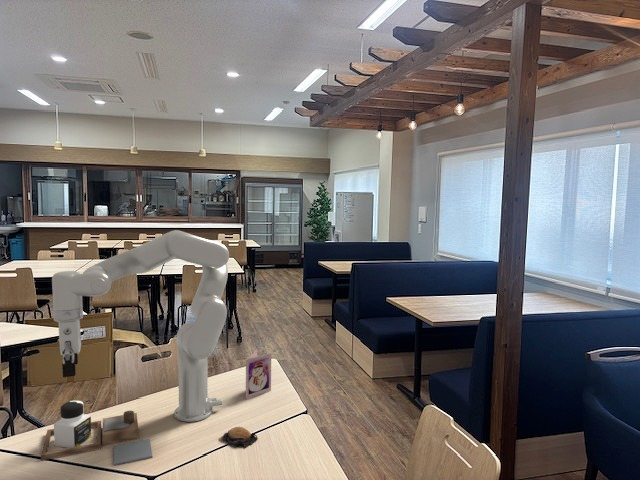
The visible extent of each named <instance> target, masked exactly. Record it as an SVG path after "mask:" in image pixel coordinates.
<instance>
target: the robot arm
mask: <svg viewBox="0 0 640 480" xmlns="http://www.w3.org/2000/svg"><path fill="white" fill-rule="evenodd" d="M175 259H177V260H181V261H184V262H188V263H191V264H194V265H199V266H201V268H202V273H201V277H200V281H199V285H198V287H197V290H196V292H195V295H194V297H193V299H192V302H191V305H190V312H191V314H192V316H193V317H194V318H195V321H188V322H186V323H184V324H182V325H181V326H180V327H179V329H178V330H177V333H176V340H175V341H176V349H177V361H178V364H177V365H178V370H177V371H178V407H176V408H175V409H174V411H173V412H174V413H173V416H174V418H176V420H178V421H181V422H185V423H188V422H189V423H190V422H191V423H193V422H197V421H198V422H199V421H201V420H205V419H207V418H208V417H210V416H211V415H212V413H213V407H214V406H215V407H217V406H222V405H223V402H222V399H221V398H220V399H217V397H212V398H210V397H209V396H208V395H209V393H208V390H209V389H208V387H209V386H208V385H209V384H208V383H209V382H208V369H209V368H208V362H209V361H208V357H210V356H211V355H212V353H214V350H215V349H216V347H217V344H218V342H219V339H220V336H221V333H222V332H223V329H224V325H225V324H226V321H227V320H226V319H227V317H228V316H227V315H228V309H227V305H226V304H225V302H224V301H223V300H222V297H223V294H224V291H225V288H226V285H227V281H228V276H229V275H228V273H229V272H228V265H227V264H228V262H229V260H230V252H229V248H227V247H226V245H225V244H223V243H221V242H219V241H215V240H212V239H206V238H205V237H200V236H198V235H193V234H192V233H188V232H187V231H186V232H185V231H182V230H178V229H175V230H170V231H168V232H166V233H164V234H161V235H159V236H158V237H156V238H154V239H152V240H149V241H147V242H145V243H143V244H141V245H138V246H136V247H134V248H132V249H128V250H126V251H124V252H121V253H119V254H115V255H113V256H110V257H108V258H107V259H103V260H102V261H100V262H97V263H95V264H94V265H92V266H89V267H88V268H86V269H85V270H84V271H83V272H82V273H80V272H78V271H76V270H75V271H74V270H66V271H58V272H55V273H54V274H53V275H52V278H51V286H52V287H51V289H52V308H53V309H52V311H53V313H52V314H53V322H56V323H58V340H59V352H60V355H61V356H62V365H61V367H62V368H61V369H62V377H63V378H70V377H75V376H76V373H77V372H76V370H77V369H76V365H78V361H79V360H78V359H79V357H78V354H80V352H81V349H82V348H81V347H82V337H81V334H82V333H81V323H80V322H81V321H80V320H81V319H83V318H84V310H83V307H84V306H83V297H101V296H103V295H104V296H105V295H106V294H107V293H109V291H110V290H111V287H112V283H113V282H115V281H118V280H119V279H122V278H125V277H128V276H131V275H137V274H138V275H139V274H145V273H148V272H150V271H153V270H155V269H157V268H159V267H161V266H163V265H165V264H167V263H168V262H171V261H173V260H175Z"/></svg>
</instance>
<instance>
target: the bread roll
mask: <svg viewBox="0 0 640 480" xmlns="http://www.w3.org/2000/svg"><path fill="white" fill-rule="evenodd" d="M258 440H259V438H258V436H257V434H256V433H254V432H252V433H251V432H250V431H249V430H248V429H246V428H245V427H242V426H235V427H233V428H230V429H228V431H227V432H224V434H223V435H222V436H220V437H219V438H218V441H219V442H222V443H224V444H226V445H228V446H231V447H235V448H237V449H242V448H243V449H247V448H249V447H250V446H252V445H253V444H255V443H256V442H257V441H258Z"/></svg>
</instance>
